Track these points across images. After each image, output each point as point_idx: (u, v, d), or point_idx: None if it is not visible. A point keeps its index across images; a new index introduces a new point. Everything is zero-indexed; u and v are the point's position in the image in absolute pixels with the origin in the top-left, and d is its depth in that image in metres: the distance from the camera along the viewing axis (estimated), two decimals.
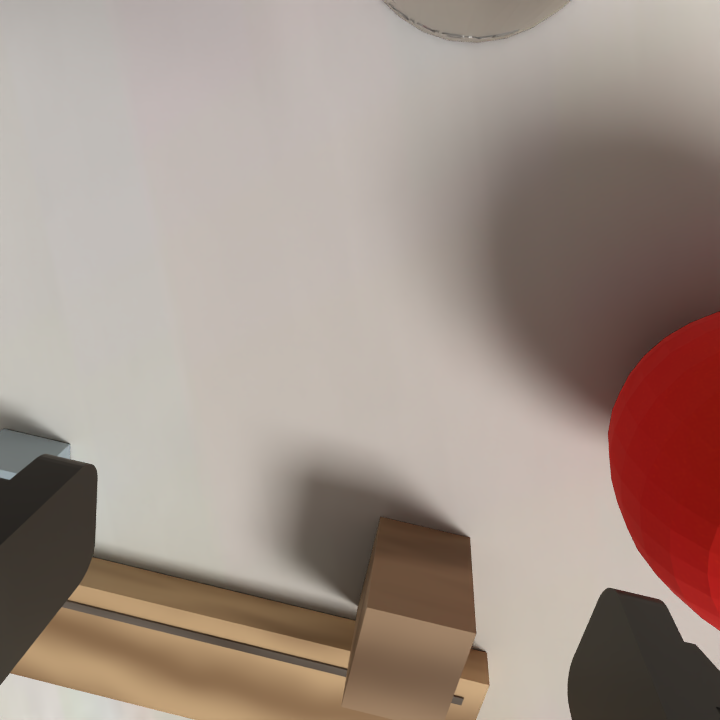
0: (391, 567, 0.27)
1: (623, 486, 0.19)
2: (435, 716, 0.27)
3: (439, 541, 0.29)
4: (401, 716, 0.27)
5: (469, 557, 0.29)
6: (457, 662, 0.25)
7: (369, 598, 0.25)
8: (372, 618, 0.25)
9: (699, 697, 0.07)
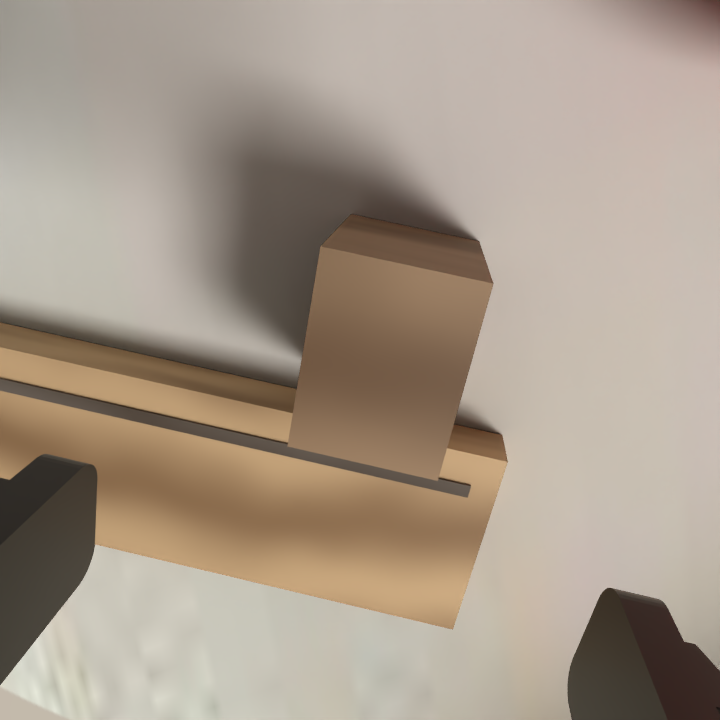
0: (363, 235, 0.18)
1: None
2: (429, 453, 0.17)
3: (435, 235, 0.20)
4: (378, 457, 0.18)
5: (479, 248, 0.20)
6: (463, 344, 0.16)
7: (325, 243, 0.16)
8: (329, 267, 0.16)
9: (699, 697, 0.07)
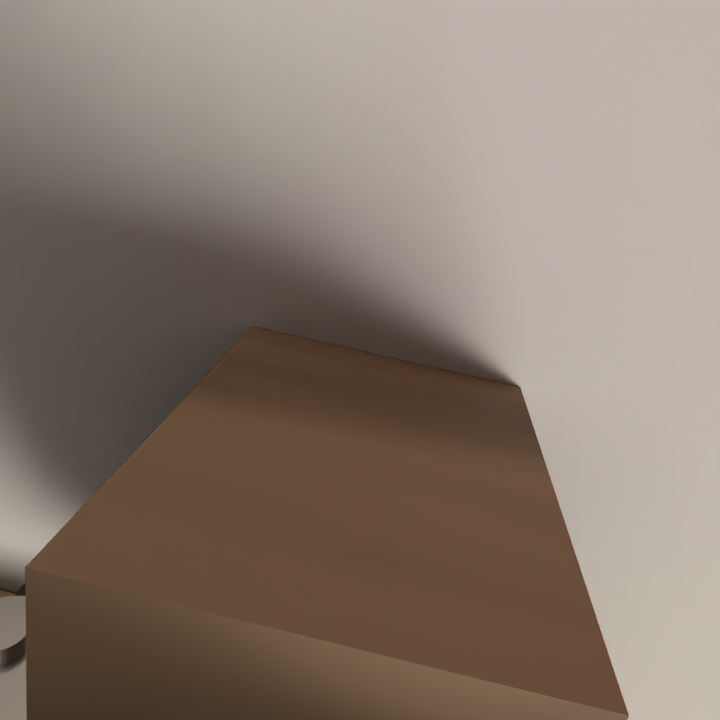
0: (237, 431, 0.07)
1: None
2: None
3: (429, 387, 0.09)
4: None
5: (528, 428, 0.09)
6: None
7: (69, 528, 0.05)
8: (64, 627, 0.05)
9: None
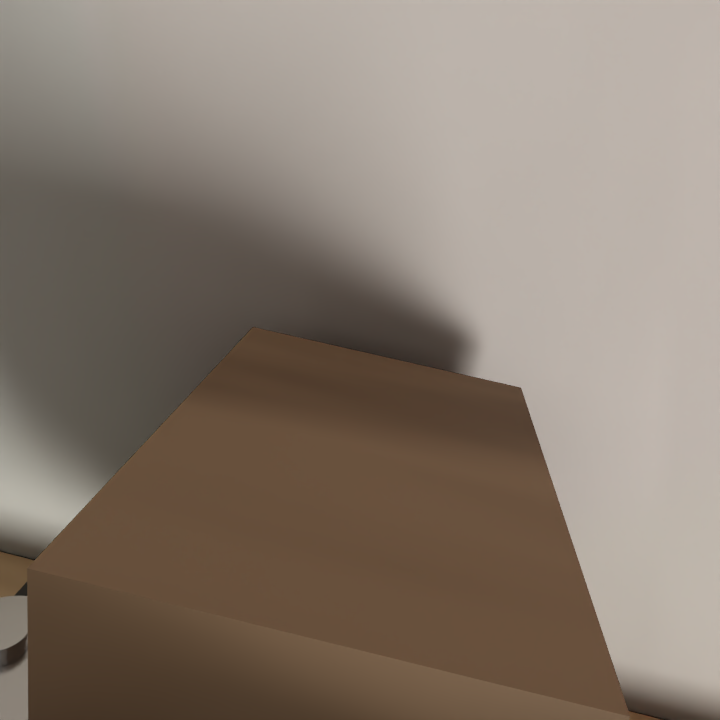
0: (238, 432, 0.07)
1: None
2: None
3: (429, 387, 0.09)
4: None
5: (528, 428, 0.09)
6: None
7: (70, 528, 0.05)
8: (66, 628, 0.05)
9: None
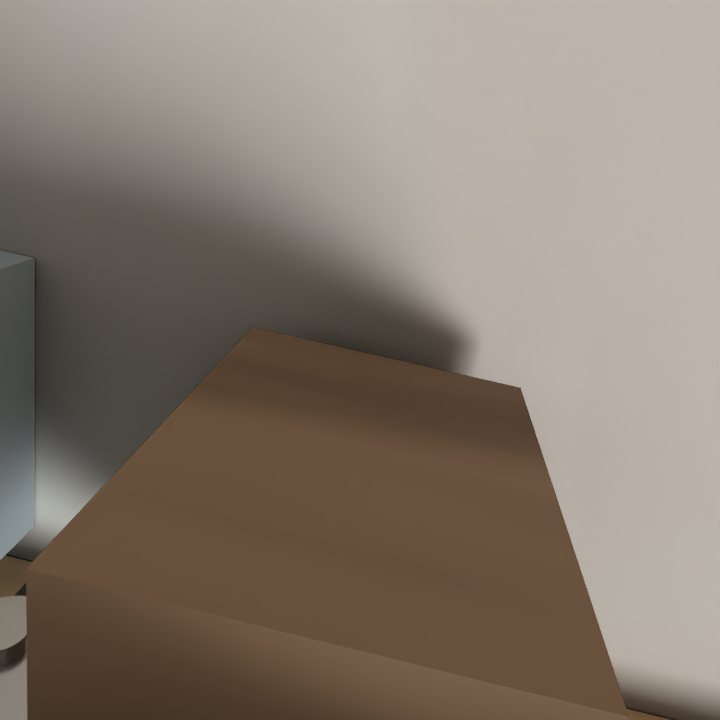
0: (238, 432, 0.07)
1: None
2: None
3: (429, 387, 0.09)
4: None
5: (528, 429, 0.09)
6: None
7: (70, 529, 0.05)
8: (65, 627, 0.05)
9: None
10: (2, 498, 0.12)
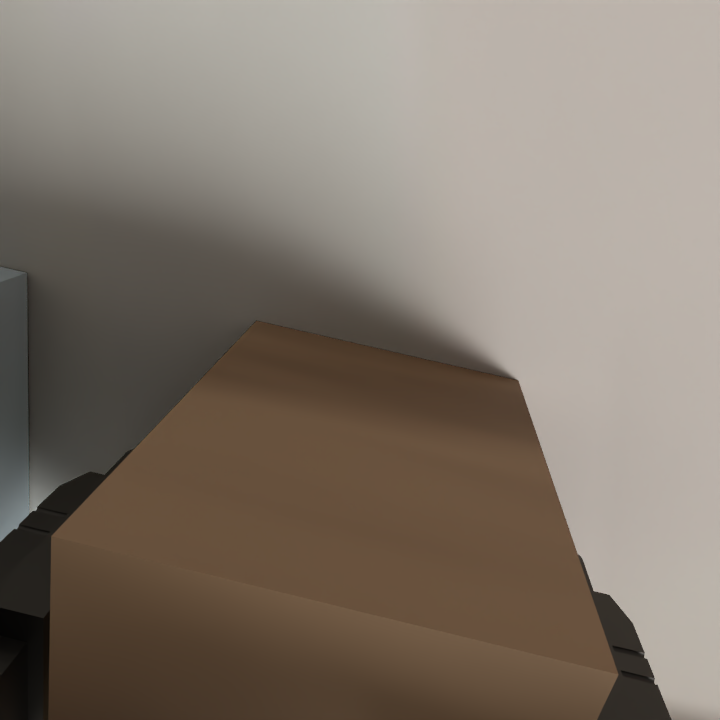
0: (246, 416, 0.07)
1: None
2: None
3: (429, 378, 0.09)
4: None
5: (525, 417, 0.09)
6: None
7: (90, 501, 0.05)
8: (88, 593, 0.05)
9: None
10: None
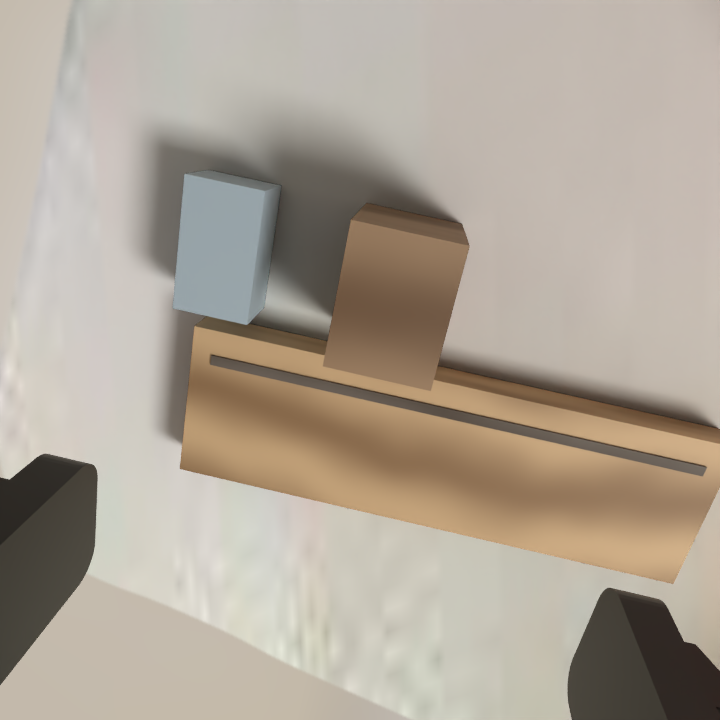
0: (378, 215, 0.25)
1: None
2: (425, 370, 0.24)
3: (429, 219, 0.27)
4: (388, 373, 0.25)
5: (461, 228, 0.27)
6: (449, 289, 0.23)
7: (353, 218, 0.23)
8: (356, 234, 0.23)
9: (699, 697, 0.07)
10: (262, 285, 0.29)
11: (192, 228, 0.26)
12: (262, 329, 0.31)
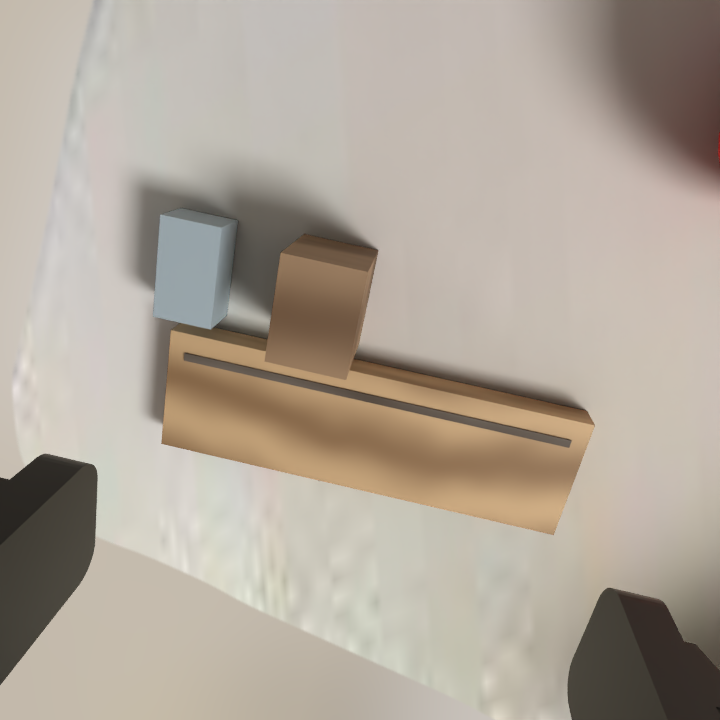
0: (306, 246, 0.33)
1: None
2: (341, 364, 0.32)
3: (351, 247, 0.35)
4: (313, 367, 0.33)
5: (374, 254, 0.35)
6: (355, 303, 0.31)
7: (283, 251, 0.31)
8: (285, 263, 0.31)
9: (699, 697, 0.07)
10: (224, 297, 0.37)
11: (167, 255, 0.34)
12: (225, 332, 0.39)
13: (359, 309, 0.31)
